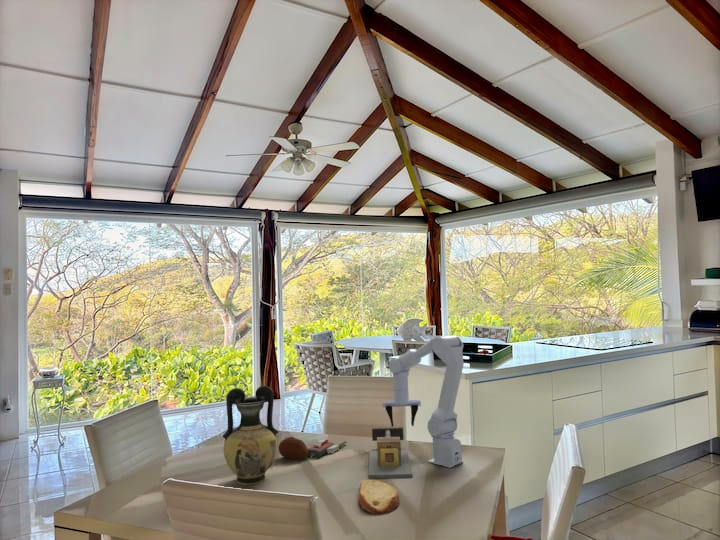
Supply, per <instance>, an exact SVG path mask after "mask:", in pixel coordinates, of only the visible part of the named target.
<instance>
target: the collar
mask: <svg viewBox="0 0 720 540" xmlns="http://www.w3.org/2000/svg"><path fill="white" fill-rule="evenodd" d="M385 453H394V461H385ZM380 457H381V467H399V461H398V447H386V446H385V447H380Z"/></svg>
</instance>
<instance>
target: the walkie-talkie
mask: <svg viewBox="0 0 720 540" xmlns="http://www.w3.org/2000/svg"><path fill="white" fill-rule="evenodd" d="M345 444H347V440H345V441H342V442H341V443H339V444H334V442H332V441H331V442H330V441H329V440H328V439H323V438H322V439H320V440H318V441H317V442H316V443H314V444H313V445H311V446H310V447H307V449H308V456H312V457H311V458H314V457H320V456H322V455H324V454H326V453H332V452H335V451H336V452H338V451H340V448H341V447H343V446H344V445H345ZM337 450H338V451H337ZM336 452H335V453H336ZM332 454H333V453H332ZM326 455H327V454H326ZM324 456H325V455H324ZM322 457H323V456H322Z"/></svg>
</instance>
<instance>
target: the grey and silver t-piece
mask: <svg viewBox="0 0 720 540" xmlns="http://www.w3.org/2000/svg"><path fill="white" fill-rule="evenodd" d="M371 437H372V440H371V441H374V442H377V437H400V441H404V427H403V426H402V427H399V426H396V427H394V426H393V427H392V426H391V427H371ZM385 447H392V446H385Z"/></svg>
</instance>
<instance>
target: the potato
mask: <svg viewBox="0 0 720 540" xmlns="http://www.w3.org/2000/svg"><path fill="white" fill-rule="evenodd" d="M278 453H279V454H280V456H282V457H283V458H286V459H289V460H295V459H301V460H304V459H306V458H308V457H307V456H308V447H307V446H306V444H305V442H304V441H303V440H302V439H299V438H296V437H294V436H289V437H286V438H284V439H282V440H281V441H280V443H279V445H278Z"/></svg>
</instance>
